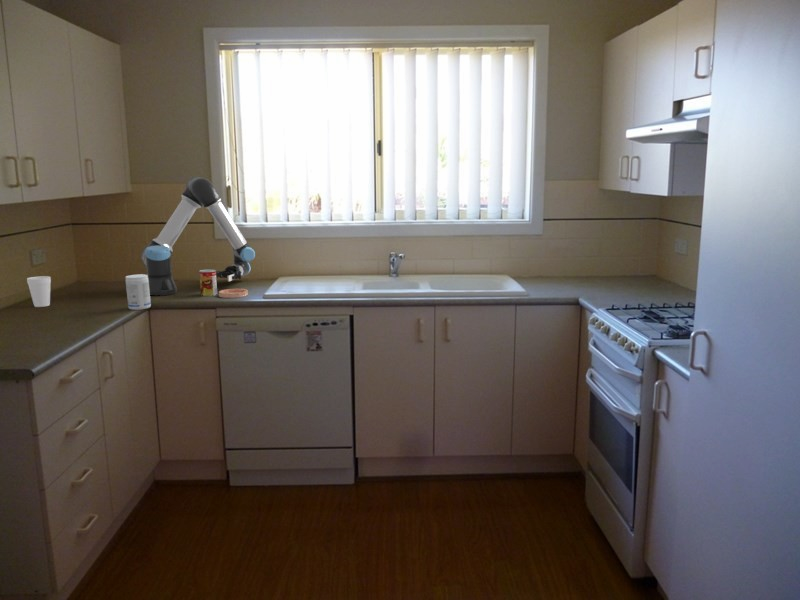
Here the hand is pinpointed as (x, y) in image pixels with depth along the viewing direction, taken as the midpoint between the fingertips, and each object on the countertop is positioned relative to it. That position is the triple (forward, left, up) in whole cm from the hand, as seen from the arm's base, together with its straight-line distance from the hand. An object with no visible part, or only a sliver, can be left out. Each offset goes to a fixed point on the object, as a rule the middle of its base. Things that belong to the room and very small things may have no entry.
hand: (215, 278), depth 330 cm
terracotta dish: (+12, -7, -7) cm, 16 cm away
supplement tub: (-17, -42, -7) cm, 46 cm away
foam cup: (-66, -43, -7) cm, 79 cm away
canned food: (-1, -7, -7) cm, 10 cm away
